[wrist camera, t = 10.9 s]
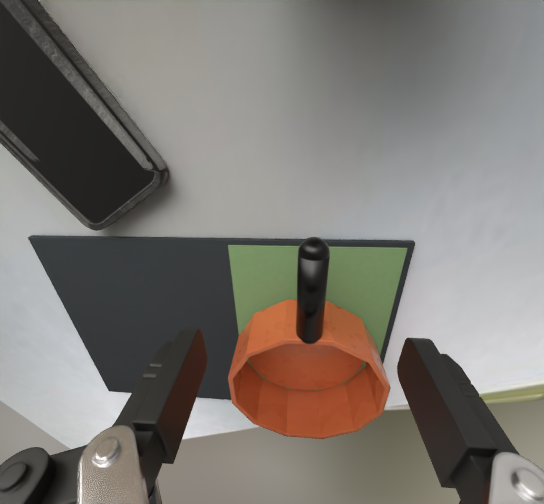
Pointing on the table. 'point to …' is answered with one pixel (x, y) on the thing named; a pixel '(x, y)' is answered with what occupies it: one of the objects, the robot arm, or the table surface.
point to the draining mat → (205, 293)
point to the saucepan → (308, 361)
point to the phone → (69, 122)
